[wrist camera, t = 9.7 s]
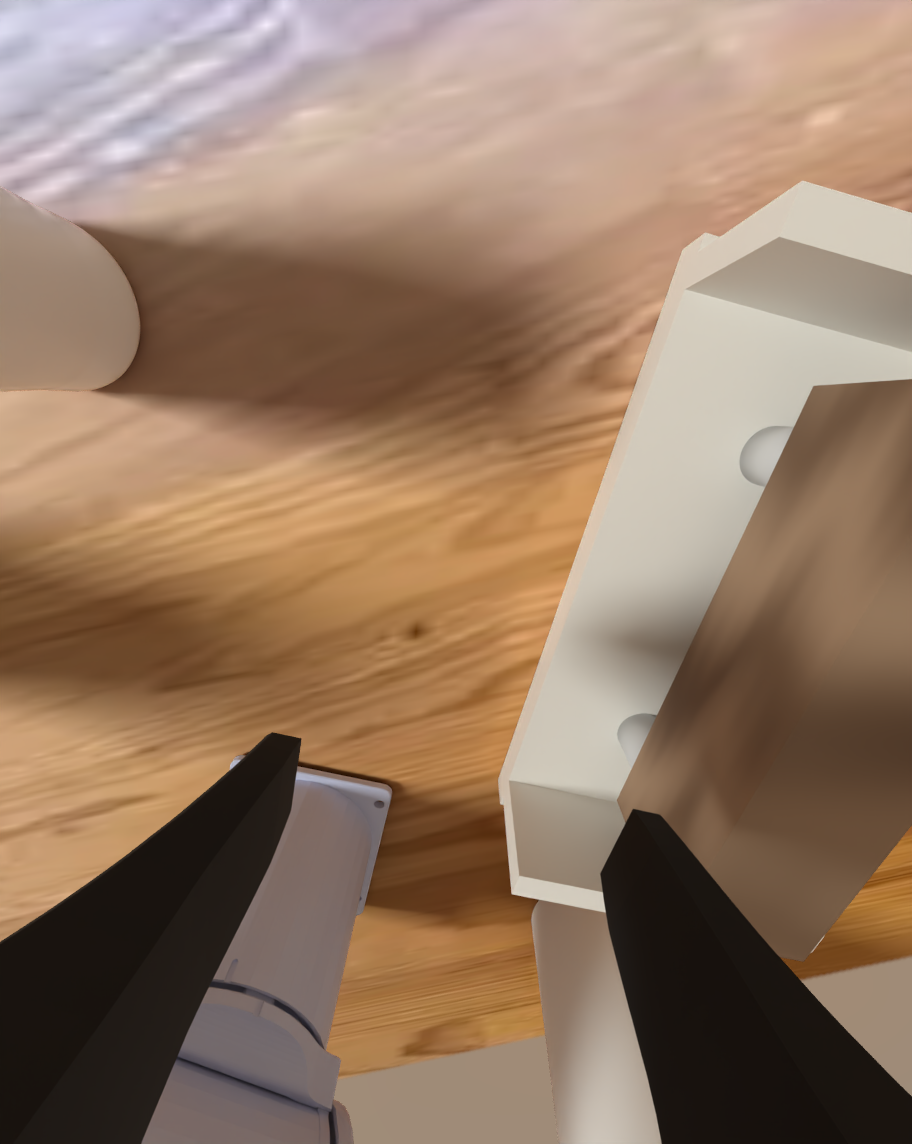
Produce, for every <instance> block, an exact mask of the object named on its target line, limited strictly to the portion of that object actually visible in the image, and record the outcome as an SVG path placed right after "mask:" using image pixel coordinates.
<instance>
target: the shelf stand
mask: <svg viewBox="0 0 912 1144" xmlns="http://www.w3.org/2000/svg"><path fill="white" fill-rule="evenodd" d="M906 379H912V213H910V212H907V211H903V210H900V209H897V208H893V207H890V206H887V205H883V204H880V203H876V202H873V201H870V200H866V199H863V198H860V197H856V196H853V195H849V194H846V193H843V192H839V191H836V190H832V189H829V188H826V187H822V186H819V185H816V184H812V183H809V182H805V181H801V182H800V183H798V184H797V185H795V186H794V187H792V188H791V189H789V190H788V191H786V192H785V193H783V194H782V195H781V196H779V197H778V198H776V199H775V200H773V201H772V202H770V203H769V204H767V205H766V206H765V207H763V208H762V209H760V210H759V211H757V212H756V213H754V214H753V215H751V216H750V217H748V218H747V219H746V220H744V221H743V222H741V223H740V224H738V225H737V226H735V227H734V228H732V229H731V230H730V231H728V232H727V233H725V234H724V235H722V236H721V237H719V236H715V235H712V234H708V233H704V234H703V235H701V236H700V237H699V238H697V239H696V240H695V241H693V242H692V243H691V244H689V245H688V246H687V247H685V248H684V249H683V250H682V252H681V255H680V258H679V261H678V264H677V267H676V270H675V273H674V275H673V278H672V281H671V284H670V287H669V290H668V293H667V296H666V298H665V301H664V304H663V307H662V310H661V313H660V316H659V319H658V321H657V324H656V327H655V330H654V333H653V336H652V339H651V342H650V344H649V347H648V350H647V353H646V356H645V359H644V362H643V365H642V367H641V370H640V373H639V376H638V379H637V382H636V385H635V388H634V390H633V393H632V396H631V399H630V402H629V405H628V408H627V411H626V413H625V416H624V419H623V422H622V425H621V428H620V431H619V434H618V436H617V439H616V442H615V445H614V448H613V451H612V454H611V457H610V459H609V462H608V465H607V468H606V471H605V474H604V477H603V480H602V482H601V485H600V488H599V491H598V494H597V497H596V500H595V503H594V505H593V508H592V511H591V514H590V517H589V520H588V523H587V526H586V528H585V531H584V534H583V537H582V540H581V543H580V546H579V549H578V551H577V554H576V557H575V560H574V563H573V566H572V569H571V572H570V574H569V577H568V580H567V583H566V586H565V589H564V592H563V594H562V597H561V600H560V603H559V606H558V609H557V612H556V615H555V617H554V620H553V623H552V626H551V629H550V632H549V635H548V638H547V640H546V643H545V646H544V649H543V652H542V655H541V658H540V661H539V663H538V666H537V669H536V672H535V675H534V678H533V681H532V684H531V686H530V689H529V692H528V695H527V698H526V701H525V704H524V707H523V709H522V712H521V715H520V718H519V721H518V724H517V727H516V730H515V732H514V735H513V738H512V741H511V744H510V747H509V750H508V753H507V755H506V758H505V761H504V764H503V767H502V770H501V773H500V776H499V778H498V784H499V797H500V804H501V805H504V814H505V825H506V837H507V848H508V859H509V870H510V882H511V893H512V894H513V895H518V896H523V897H528V898H534V899H539V900H544V901H549V902H554V903H559V904H564V905H570V906H575V907H580V908H585V909H590V910H595V911H600V912H606V911H605V905H604V898H603V891H602V883H601V876H600V873H601V871H602V869H603V867H604V865H605V863H606V861H607V859H608V857H609V855H610V853H611V851H612V849H613V847H614V845H615V843H616V841H617V839H618V837H619V835H620V833H621V831H622V829H623V827H624V825H625V821H624V818H623V815H622V813H621V810H620V807H619V805H618V802H617V799H618V796H619V794H620V792H621V790H622V788H623V786H624V784H625V782H626V780H627V778H628V775H629V773H630V771H631V769H632V767H633V765H634V763H635V761H636V759H637V756H638V754H639V752H640V750H641V748H642V746H643V744H644V742H645V740H646V738H647V735H648V733H649V731H650V729H651V727H652V725H653V723H654V721H655V719H656V716H657V714H658V712H659V710H660V708H661V706H662V704H663V702H664V700H665V697H666V695H667V693H668V691H669V689H670V687H671V685H672V683H673V681H674V679H675V676H676V674H677V672H678V670H679V668H680V666H681V664H682V662H683V660H684V657H685V655H686V653H687V651H688V649H689V647H690V645H691V643H692V641H693V639H694V636H695V634H696V632H697V630H698V628H699V626H700V624H701V622H702V620H703V617H704V615H705V613H706V611H707V609H708V607H709V605H710V603H711V601H712V599H713V596H714V594H715V592H716V590H717V588H718V586H719V584H720V582H721V580H722V577H723V575H724V573H725V571H726V569H727V567H728V565H729V563H730V561H731V558H732V556H733V554H734V552H735V550H736V548H737V546H738V544H739V542H740V540H741V537H742V535H743V533H744V531H745V529H746V527H747V525H748V523H749V521H750V518H751V516H752V514H753V512H754V510H755V508H756V506H757V504H758V502H759V500H760V497H761V495H762V493H763V491H764V489H765V487H766V485H767V483H768V481H769V478H770V476H771V474H772V472H773V470H774V468H775V466H776V464H777V462H778V460H779V457H780V455H781V453H782V451H783V449H784V447H785V445H786V443H787V441H788V438H789V436H790V434H791V432H792V430H793V428H794V426H795V424H796V422H797V419H798V417H799V415H800V413H801V411H802V409H803V407H804V405H805V403H806V401H807V398H808V396H809V394H810V392H811V390H812V388H813V386H818V385H833V384H847V383H862V382H877V381H891V380H906ZM823 938H824V937H823ZM823 938H822V939H823ZM822 939H821V940H822ZM821 940H820V941H821ZM819 943H820V942H819ZM819 943H818V944H819ZM818 944H817V945H818ZM817 945H816V947H817ZM816 947H815V948H816ZM815 948H814V949H815ZM814 949H813V950H814ZM812 952H813V951H812ZM812 952H811V953H812Z"/></svg>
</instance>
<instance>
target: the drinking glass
mask: <svg viewBox="0 0 912 1144" xmlns="http://www.w3.org/2000/svg"><path fill="white" fill-rule="evenodd" d="M139 340H140V316H139V311H138V306H137V302H136V299H135V296H134V293H133V290H132V288H131V286H130V283H129V281H128V279H127V278H126V276H125V274H124V272H123V271H122V269H121V267H120V266H119V265H118V263H117V262H116V260H115V259H114V258H113V257H112V255H111V254H110V253H109V252H108V251H107V250H106V249H105V248H104V247H103V246H102V245H101V244H100V243H99V242H98V241H97V240H96V239H95V238H94V237H92V236H91V235H90V234H89V233H87V232H86V231H85V230H83V229H82V228H80V227H79V226H77V225H75V224H74V223H72V222H70V221H68V220H67V219H65V218H62V217H60V216H58V215H56V214H54V213H52V212H50V211H48V210H46V209H44V208H42V207H40V206H37V205H35V204H33V203H31V202H29V201H27V200H25V199H23V198H21V197H20V196H18V195H16V194H14V193H12V192H11V191H9V190H7V189H5V188H4V187H2V186H0V392H8V391H31V390H49V391H73V392H79V391H90V390H95V389H99V388H102V387H104V386H107V385H109V384H111V383H112V382H114V381H116V380H117V379H118V378H119V377H121V376H122V375H123V374H124V373H125V372H126V370H127V369H128V368H129V366H130V365H131V363H132V361H133V359H134V357H135V355H136V352H137V349H138V345H139Z"/></svg>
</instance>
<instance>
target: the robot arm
mask: <svg viewBox="0 0 912 1144" xmlns="http://www.w3.org/2000/svg"><path fill="white" fill-rule="evenodd" d="M300 746H301V738H296V737H292V736H287V735H282V734H278V733H273V732H272V733H271V734H269V735H267V736H266V737H265V738H264V739H263V740H262V741H261V742H260V743H259V744H257V745H256V746H255V747H254V748H253V749H252V750H251V751H250V752H249V753H248V754H247V755H239V756H236V757H235V758H234V760H233V761H232V763H231V765H230V771H228V772H227V773H226V774H225V775H224V776H223V777H222V778H221V779H220V780H218V781H217V782H216V783H215V784H214V785H213V786H211V787H210V788H209V789H208V790H207V791H206V792H204V793H203V794H202V795H201V796H200V797H199V798H197V799H196V800H195V801H194V802H193V803H191V804H190V805H189V806H188V807H187V808H186V809H184V810H183V811H182V812H181V813H180V814H178V815H177V816H176V817H175V818H173V819H172V820H171V821H170V822H168V823H167V824H166V825H165V826H163V827H162V828H161V829H159V830H158V831H157V832H156V833H154V834H153V835H152V836H150V837H149V838H148V839H147V840H145V841H144V842H143V843H141V844H140V845H139V846H138V847H136V848H135V849H134V850H132V851H131V852H130V853H129V854H127V855H126V856H125V857H123V858H122V859H121V860H119V861H118V862H117V863H115V864H114V865H112V866H111V867H110V868H108V869H107V870H106V871H104V872H103V873H102V874H100V875H99V876H97V877H96V878H95V879H93V880H92V881H90V882H89V883H88V884H86V885H85V886H83V887H82V888H80V889H79V890H78V891H76V892H75V893H73V894H72V895H70V896H69V897H67V898H66V899H64V900H63V901H62V902H60V903H59V904H57V905H56V906H54V907H53V908H51V909H50V910H48V911H47V912H45V913H44V914H42V915H41V916H39V917H38V918H36V919H35V920H33V921H32V922H30V923H29V924H27V925H26V926H24V927H22V928H21V929H19V930H18V931H16V932H15V933H13V934H12V935H10V936H9V937H7V938H6V939H4V940H2V941H1V942H0V1144H354V1141H353V1131H352V1126H351V1121H350V1117H349V1114H348V1112H347V1110H346V1108H345V1106H344V1105H342V1104H341V1103H340V1102H338V1101H336V1100H333V1099H334V1093H335V1088H336V1083H337V1078H338V1073H339V1068H340V1063H341V1060H340V1058H339V1057H337V1056H334V1055H332V1054H330V1053H329V1052H327V1051H326V1048H327V1043H328V1039H329V1034H330V1030H331V1025H332V1021H333V1016H334V1012H335V1007H336V1003H337V998H338V994H339V989H340V985H341V980H342V976H343V971H344V967H345V962H346V958H347V953H348V949H349V944H350V940H351V935H352V931H353V926H354V922H355V917H356V916H357V915H360V914H361V913H362V912H363V910H364V906H365V902H366V898H367V894H368V890H369V886H370V882H371V878H372V873H373V869H374V865H375V861H376V857H377V853H378V849H379V845H380V841H381V837H382V833H383V829H384V825H385V821H386V817H387V813H388V809H389V805H390V801H391V796H392V789H391V788H390V787H389V786H388V785H386V784H382V783H377V782H372V781H367V780H363V779H358V778H353V777H348V776H343V775H338V774H333V773H328V772H324V771H319V770H314V769H309V768H304V767H299V766H298V760H299V753H300ZM379 801H383V802H379ZM600 876H601V883H602V891H603V898H604V905H605V911H606V917H607V923H608V929H609V933H610V937H611V941H612V946H613V949H614V953H615V957H616V961H617V965H618V969H619V973H620V976H621V980H622V984H623V988H624V992H625V995H626V999H627V1003H628V1007H629V1010H630V1014H631V1018H632V1022H633V1025H634V1029H635V1033H636V1037H637V1040H638V1044H639V1048H640V1052H641V1056H642V1059H643V1063H644V1067H645V1071H646V1074H647V1078H648V1082H649V1087H650V1091H651V1095H652V1099H653V1104H654V1108H655V1112H656V1117H657V1122H658V1127H659V1132H660V1138H661V1143H662V1144H912V1096H911V1095H910V1094H909V1093H907V1092H906V1091H905V1090H904V1088H903V1087H901V1086H900V1085H899V1084H898V1083H897V1082H896V1081H895V1080H894V1079H893V1078H892V1077H891V1076H890V1075H889V1074H888V1073H887V1072H886V1071H885V1070H884V1068H883V1067H882V1066H881V1065H880V1064H879V1063H877V1061H876V1060H875V1059H874V1058H873V1057H872V1056H871V1055H870V1054H869V1053H868V1052H867V1051H866V1050H865V1049H864V1048H863V1047H862V1046H861V1045H860V1044H859V1043H858V1042H857V1041H856V1040H855V1039H854V1038H853V1037H852V1036H851V1035H850V1034H849V1033H848V1032H847V1031H846V1029H845V1028H844V1027H843V1026H842V1025H841V1024H840V1023H839V1022H838V1021H837V1020H836V1019H835V1018H834V1017H833V1016H832V1015H831V1014H830V1012H829V1011H828V1010H827V1009H826V1008H825V1007H824V1006H823V1005H822V1004H821V1003H820V1002H819V1001H818V1000H817V998H816V997H815V996H814V995H813V994H812V993H811V992H810V991H809V990H808V988H807V987H806V986H805V985H804V984H803V983H802V982H801V981H800V980H799V978H798V977H797V976H796V975H795V974H794V973H793V972H792V971H791V969H790V968H789V967H788V966H787V965H786V964H785V963H784V962H783V961H782V959H781V958H780V957H779V956H778V955H777V954H776V953H775V951H774V950H773V949H772V948H771V947H770V946H769V944H768V943H767V942H766V941H765V940H764V939H763V938H762V936H761V935H760V934H759V933H758V932H757V930H756V929H755V928H754V927H753V926H752V925H751V923H750V922H749V921H748V920H747V919H746V917H745V916H744V915H743V914H742V913H741V911H740V910H739V909H738V908H737V907H736V906H735V904H734V903H733V902H732V901H731V899H730V898H729V897H728V896H727V895H726V893H725V892H724V891H723V890H722V889H721V887H720V886H719V885H718V884H717V882H716V881H715V880H714V879H713V878H712V876H711V875H710V874H709V873H708V871H707V870H706V869H705V868H704V867H703V865H702V864H701V863H700V862H699V860H698V859H697V858H696V857H695V856H694V854H693V853H692V852H691V851H690V849H689V848H688V847H687V846H686V845H685V843H684V842H683V841H682V840H681V838H680V837H679V836H678V835H677V834H676V832H675V831H674V830H673V829H672V828H671V827H670V825H669V824H668V823H667V822H666V821H665V820H664V818H663V817H662V816H661V815H660V814H656V813H651V812H646V811H641V810H637V809H633V810H632V812H631V814H630V816H629V817H628V819H627V821H626V823H625V825H624V827H623V829H622V831H621V833H620V835H619V837H618V839H617V841H616V843H615V845H614V847H613V849H612V851H611V853H610V855H609V857H608V859H607V861H606V863H605V865H604V867H603V869H602V871H601V873H600Z"/></svg>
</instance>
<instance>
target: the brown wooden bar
mask: <svg viewBox="0 0 912 1144" xmlns="http://www.w3.org/2000/svg"><path fill="white" fill-rule="evenodd" d="M617 802H618V805H619V807H620V810H621V813H622V815H623V818H624V821H625V823H626V821H627V819H628V817H629V816H630V814H631V812H632V810H633V809H637V810H641V811H646V812H651V813H656V814H660V815H661V816H662V817H663V818H664V820H665V821H666V822H667V823H668V824H669V825H670V827H671V828H672V829H673V830H674V831H675V832H676V834H677V835H678V836H679V837H680V838H681V840H682V841H683V842H684V843H685V845H686V846H687V847H688V848H689V849H690V851H691V852H692V853H693V854H694V856H695V857H696V858H697V859H698V860H699V862H700V863H701V864H702V865H703V867H704V868H705V869H706V870H707V871H708V873H709V874H710V875H711V876H712V878H713V879H714V880H715V881H716V882H717V884H718V885H719V886H720V887H721V889H722V890H723V891H724V892H725V893H726V895H727V896H728V897H729V898H730V899H731V901H732V902H733V903H734V904H735V906H736V907H737V908H738V909H739V910H740V911H741V913H742V914H743V915H744V916H745V917H746V919H747V920H748V921H749V922H750V923H751V925H752V926H753V927H754V928H755V929H756V930H757V932H758V933H759V934H760V935H761V936H762V938H763V939H764V940H765V941H766V942H767V943H768V944H769V946H770V947H771V948H772V949H773V950H774V951H775V953H776V954H777V955H778V956H779V957H782V958H787V959H792V960H797V961H803V962H804V961H805V959H806V958H807V957H808V956H809V954H810V953H811V952H812V951H813V949H814V948H815V947H816V945H817V944H818V943H819V942H820V940H821V939H822V938H823V937H824V935H825V934H826V933H827V932H828V930H829V929H830V928H831V927H832V925H833V924H834V923H835V921H836V920H837V919H838V918H839V916H840V915H841V914H842V913H843V911H844V910H845V909H846V908H847V906H848V905H849V904H850V903H851V901H852V900H853V899H854V897H855V896H856V895H857V894H858V892H859V891H860V890H861V889H862V887H863V886H864V885H865V884H866V882H867V881H868V880H869V879H870V877H871V876H872V875H873V873H874V872H875V871H876V870H877V868H878V867H879V866H880V865H881V863H882V862H883V861H884V860H885V858H886V857H887V856H888V855H889V853H890V852H891V851H892V849H893V848H894V847H895V846H896V844H897V843H898V842H899V841H900V839H901V838H902V837H903V836H904V834H905V833H906V832H907V831H908V829H909V828H910V827H911V825H912V379H906V380H891V381H877V382H862V383H847V384H833V385H818V386H813V388H812V390H811V392H810V394H809V396H808V398H807V401H806V403H805V405H804V407H803V409H802V411H801V413H800V415H799V417H798V419H797V422H796V424H795V426H794V428H793V430H792V432H791V434H790V436H789V438H788V441H787V443H786V445H785V447H784V449H783V451H782V453H781V455H780V457H779V460H778V462H777V464H776V466H775V468H774V470H773V472H772V474H771V476H770V478H769V481H768V483H767V485H766V487H765V489H764V491H763V493H762V495H761V497H760V500H759V502H758V504H757V506H756V508H755V510H754V512H753V514H752V516H751V518H750V521H749V523H748V525H747V527H746V529H745V531H744V533H743V535H742V537H741V540H740V542H739V544H738V546H737V548H736V550H735V552H734V554H733V556H732V558H731V561H730V563H729V565H728V567H727V569H726V571H725V573H724V575H723V577H722V580H721V582H720V584H719V586H718V588H717V590H716V592H715V594H714V596H713V599H712V601H711V603H710V605H709V607H708V609H707V611H706V613H705V615H704V617H703V620H702V622H701V624H700V626H699V628H698V630H697V632H696V634H695V636H694V639H693V641H692V643H691V645H690V647H689V649H688V651H687V653H686V655H685V657H684V660H683V662H682V664H681V666H680V668H679V670H678V672H677V674H676V676H675V679H674V681H673V683H672V685H671V687H670V689H669V691H668V693H667V695H666V697H665V700H664V702H663V704H662V706H661V708H660V710H659V712H658V714H657V716H656V719H655V721H654V723H653V725H652V727H651V729H650V731H649V733H648V735H647V738H646V740H645V742H644V744H643V746H642V748H641V750H640V752H639V754H638V756H637V759H636V761H635V763H634V765H633V767H632V769H631V771H630V773H629V775H628V778H627V780H626V782H625V784H624V786H623V788H622V790H621V792H620V794H619V796H618V799H617Z"/></svg>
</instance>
